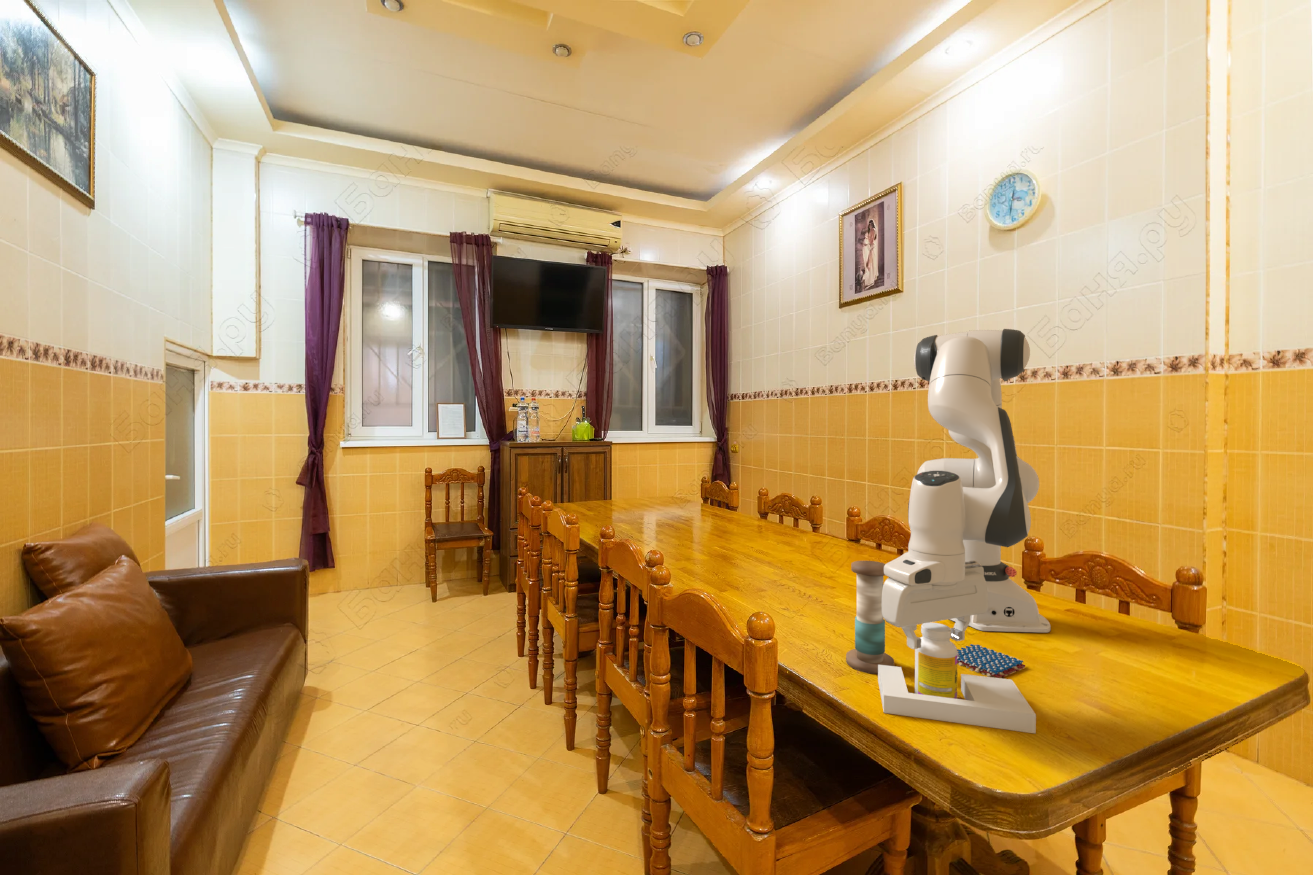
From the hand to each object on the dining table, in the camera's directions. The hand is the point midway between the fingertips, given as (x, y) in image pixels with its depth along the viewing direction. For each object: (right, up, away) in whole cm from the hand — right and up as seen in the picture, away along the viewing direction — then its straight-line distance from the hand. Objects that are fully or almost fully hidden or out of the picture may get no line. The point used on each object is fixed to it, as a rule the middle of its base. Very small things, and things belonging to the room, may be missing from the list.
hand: (935, 643), depth 97 cm
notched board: (+2, -10, -1) cm, 10 cm away
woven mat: (+17, -10, +14) cm, 24 cm away
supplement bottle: (0, -10, 0) cm, 10 cm away
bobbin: (-6, -9, +14) cm, 18 cm away
